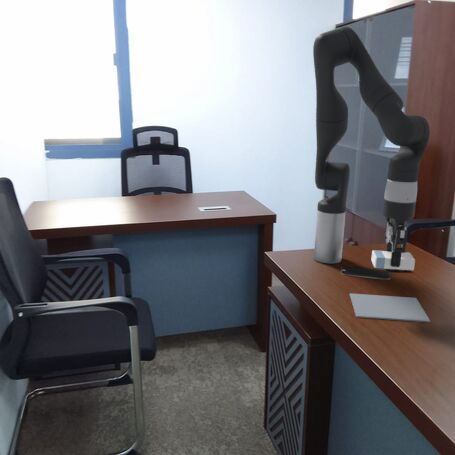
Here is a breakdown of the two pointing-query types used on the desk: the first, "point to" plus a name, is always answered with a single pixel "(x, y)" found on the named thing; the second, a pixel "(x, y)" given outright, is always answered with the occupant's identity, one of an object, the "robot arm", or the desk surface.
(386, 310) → the mat
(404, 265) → the card box
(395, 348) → the desk surface
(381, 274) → the smartphone
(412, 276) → the desk surface
